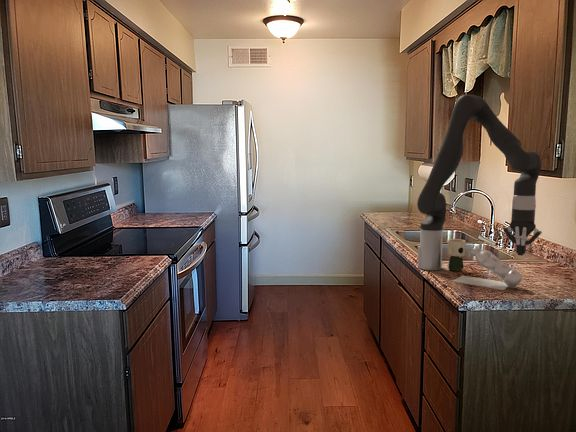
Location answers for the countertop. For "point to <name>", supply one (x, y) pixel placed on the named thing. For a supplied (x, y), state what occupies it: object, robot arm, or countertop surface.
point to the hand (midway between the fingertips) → (520, 255)
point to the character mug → (456, 254)
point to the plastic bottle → (497, 267)
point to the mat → (481, 282)
